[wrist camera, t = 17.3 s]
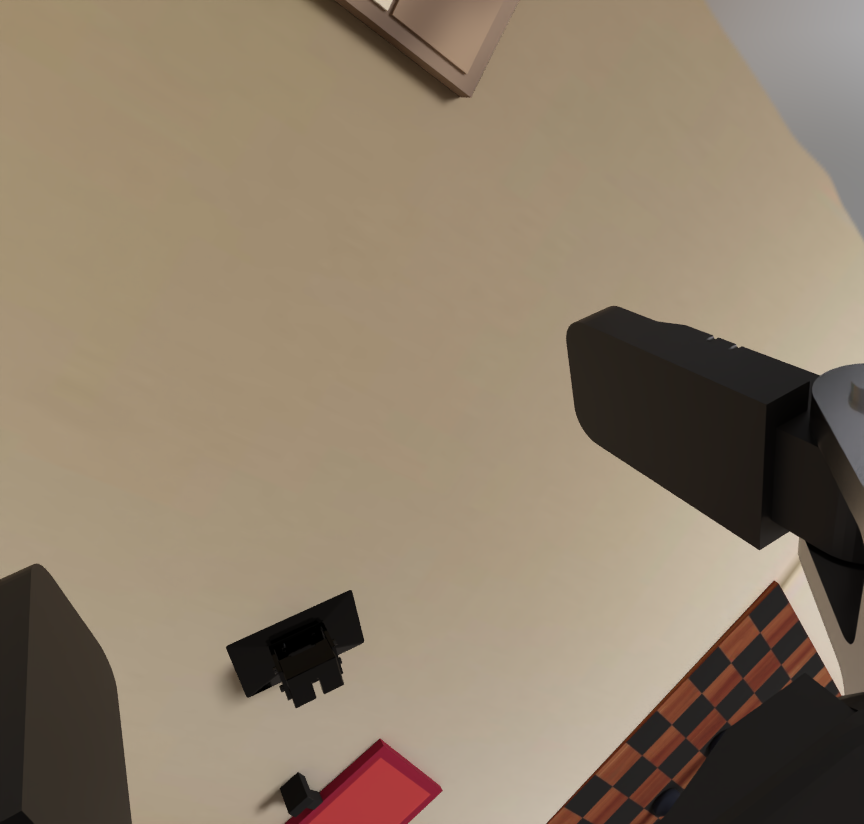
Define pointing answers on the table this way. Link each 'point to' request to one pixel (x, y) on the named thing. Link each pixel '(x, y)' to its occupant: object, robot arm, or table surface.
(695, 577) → the table surface
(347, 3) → the board
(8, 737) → the robot arm
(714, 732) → the chessboard
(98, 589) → the table surface
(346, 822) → the red board with handle
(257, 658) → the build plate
